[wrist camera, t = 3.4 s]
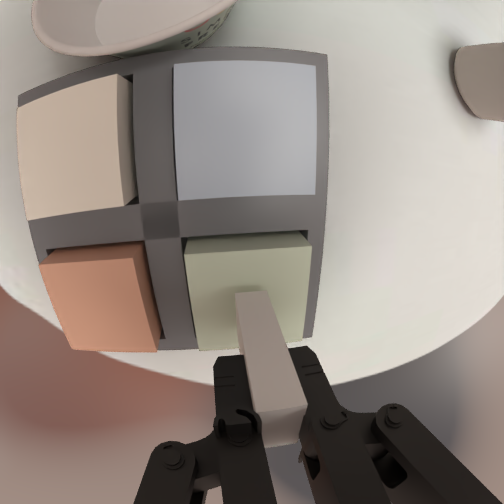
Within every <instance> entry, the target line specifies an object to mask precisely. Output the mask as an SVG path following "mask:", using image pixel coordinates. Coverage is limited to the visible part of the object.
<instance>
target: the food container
mask: <svg viewBox="0 0 504 504" xmlns="http://www.w3.org/2000/svg"><path fill="white" fill-rule="evenodd" d="M236 1H237V0H33V5H32V13H31V18H32V25H33V29H34V32H35V34H36V36H37V37H38V39H39V40H40V41H41V42H42V43H43V44H44V45H45V46H47V47H48V48H50V49H51V50H53V51H56V52H58V53H62V54H65V55H71V56H83V57H88V56H102V55H111V56H115V57H119V58H123V59H125V58H130V57H135V56H140V55H146V54H152V53H158V52H165V51H173V50H182V49H192V48H194V47H195V46H197V45H199V44H200V43H202V42H203V41H205V40H206V39H207V38H209V37H210V36H211V35H212V34H213V33H214V32H215V31H216V30H217V29H218V28H219V27H220V26H221V25H222V23H223V22H224V20H225V19H226V17H227V15H228V14H229V12H230V10H231V8H232V7H233V5H234V3H235V2H236Z"/></svg>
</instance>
